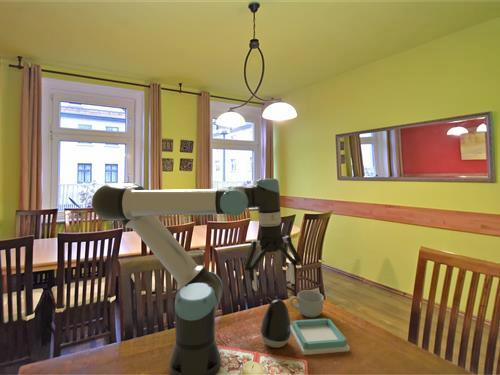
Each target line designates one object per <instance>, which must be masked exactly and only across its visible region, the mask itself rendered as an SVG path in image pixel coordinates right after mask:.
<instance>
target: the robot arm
mask: <svg viewBox="0 0 500 375" xmlns="http://www.w3.org/2000/svg"><path fill="white" fill-rule="evenodd" d="M280 194H281V193H280V185H279V180H278V179H277V178H259V179H257V180H256V183H255V184H254V185H241V186H239V185H237V186H227V187H223V188H207V189H206V188H204V189H203V188H200V189H197V188H196V189H192V188H191V189H152V190H151V189H148V190H147V189H146V187H144V186H143V185H141V184H140V183H139V184H138V183H136V182H131V181H127V182H126V181H125V182H122V183H119V182H118V183H109V184H105V185H102V186H101V187H99V188H97V190H96V191H95V192H94V194H93V196H92V198H91V207H92V210H93V212H94V213H95V215H97V217H99V218H100V219H102V220H105V221H109V222H110V221H111V222H112V221H120V223H121V224H122V225H123V226H124V227H125V228H126V229H128V228H129V229H133V231H134V232H135V233H136V235H138V237H139V238H140V239H141V240H142V242H144V244H145V246H147V247H148V249H149V250H150V251H151V252H152V253H153V254H154V256H155V257H156V259H157V260H158V261H160V263H161V264H162V266H163V267H164V268H165V269H166V270H167V271H168V273H170V275H171V276H172V277H173V279H174V280H175V281H176V283H177V288H176V290H177V293H176V294H175V300H174V315H175V316H174V318H175V319H174V322H175V323H174V325H175V343H174V345H173V346H174V347H173V350H172V353H171V356H170V358H169V374H170V375H216V374H218V372H219V370H220V368H221V361H222V360H221V354H220V350H219V348H218V345H217V341H216V336H215V334H216V326H215V325H216V319H215V318H216V314H217V310H218V307H219V305H220V302H221V299H222V297H223V292H224V286H223V282H222V279H221V278H220V276H219V275H217V273H215V272H213V271H209V270H208V269H207V268H206V267H205V265H202V264H197V263H196V261H195V260H194V259H193V258H192V257H191V255H189V253H188V252H187V251H186V250H185V249H184V247H183V245H181V244H180V243H179V241H178V240H177V239H176V237H175V236H174V235H173V234H172V233H171V232H170V230H169V229H168V228H167V227H166V226H165V225H164V223H163V222H162V221H161V219H159V217H158V216H190V215H192V216H193V215H194V216H197V215H198V216H200V215H227V216H230V217H237V216H239V215H240V216H241V215H242V214H243V213H244V212H245V211H246V210H247V209H251V208H253V209H256V208H257V209H258V210H257V211H258V224H259V226H258V227H259V228H258V229H259V239H258V240H255V239H254V240H253V239H251V241H250V247H249V250H248V253H247V255H246V258H245V260H244V262H243V265H242V268H243V269H244V270H245V271H246V272H248V279H249V280H250V282H251V281H252V282H251V284H252V286H251V287H252V289H253V291H255V292H257V291H258V284H257V283H258V281H257V271H256V268H257V266H258V264H259V263H260V261H261V260H262V258H263V257H264V256H265V255H266V253H268V254H270V253H272V252H274V253H275V252H278V251H280V253H282V255H283V256H284V257H286V259H287V260H288V261H289V263H288V279H289V282H290V283H291V284H292V285H295V283H296V281H295V279H296V278H295V274H296V273H297V266H298V263H301V262H302V259H301V256H300V255H299V253H298V251H297V250H296V248H295V246H294V244H293V243H292V242H293V241H292V238H291V236H289V235H287V234H285V236H284V237H283V231H282V224H281V223H282V213H281V195H280ZM283 243H285V244H286V245H287V248H288V249H289V251H290V252H291V254H292V256H291V255H290V253H288V251H286V250H285V248H284V247H283V246H282V245H283ZM259 245H260V248H259V249H258V252H257V253H256V251H257V248H258V246H259ZM255 254H256V255H255ZM254 256H255V257H254ZM253 257H254V258H253Z"/></svg>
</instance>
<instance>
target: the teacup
mask: <svg viewBox="0 0 500 375" xmlns="http://www.w3.org/2000/svg"><path fill="white" fill-rule="evenodd" d="M324 299H325V297H324V295H323V294H322V293H320V292H318V291H315V290H311V289H305V290H300V291H299V292H298V293H297V296H295V295H293V296H290V298H289V304H290V306H292V307H293V308H295V310H296V311H299V312H300V314H302V315H303V316H305V317H307V318H312V319H313V318H316V317H317V316H320V315H321V314H322V313H323V309H324ZM293 300H296V303H297V305H296V304H294V303H293Z"/></svg>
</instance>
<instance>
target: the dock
mask: <svg viewBox="0 0 500 375" xmlns="http://www.w3.org/2000/svg"><path fill="white" fill-rule="evenodd" d="M290 326H291V335H292V336H293V338H294V340H295V342H296V344H297V347H298V348H299V350H300V352H301V354H302V355H303V356H306V355H318V354H319V355H320V354H331V353H344V352H350V350H351V347H350V346H349V345H348V344H347V342H348V340H347V338H346V337H345V335H344V334H343V333H342V332H341V330H339V328H338V327H337V326H336V324H334V322H333V321H332V319H330V318H312V319H310V318H308V319H298V320H297V319H296V320H294V321H293V320H292V321H291V324H290Z"/></svg>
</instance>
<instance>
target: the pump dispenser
mask: <svg viewBox="0 0 500 375" xmlns="http://www.w3.org/2000/svg"><path fill="white" fill-rule="evenodd" d="M265 300H266V301H267V303H268V304H269V305H268V306H267V308H266V310H265V312H264V315H263V317H262V322H261V325H260V335H261V337H262V340H263V342H264V343H265V345H267V346H269V347H270V348H277V349H278V348H282V347H284V346H285V345H286V344H287V343H288V341H289V339H290V338H291V335H292V332H291V326H290V325H291V320H290V312H289V309H288V306H287V304H286V303H285V302H284V300H282V299H279V298H276V299H273V300H272V299H271V298H269V297H268V296H266V297H265Z"/></svg>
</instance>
